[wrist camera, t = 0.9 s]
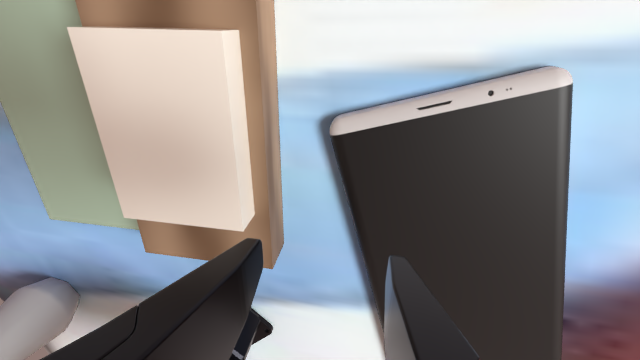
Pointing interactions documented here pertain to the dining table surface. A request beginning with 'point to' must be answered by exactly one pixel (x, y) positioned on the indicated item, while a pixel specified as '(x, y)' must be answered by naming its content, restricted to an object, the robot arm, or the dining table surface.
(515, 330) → the smartphone
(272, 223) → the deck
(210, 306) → the robot arm
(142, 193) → the pale pink slab
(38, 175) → the mat
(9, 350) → the salt shaker
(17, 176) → the dining table surface
